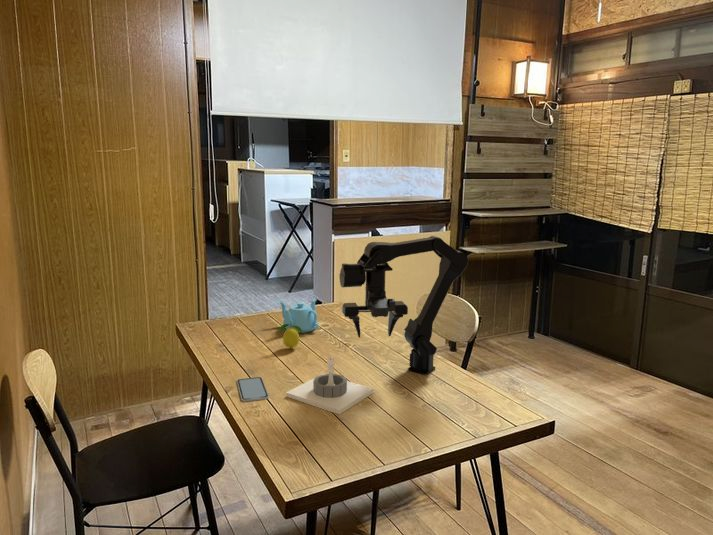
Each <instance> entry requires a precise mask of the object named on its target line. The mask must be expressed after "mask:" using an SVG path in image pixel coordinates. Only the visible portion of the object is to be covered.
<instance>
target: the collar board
mask: <svg viewBox="0 0 713 535" xmlns="http://www.w3.org/2000/svg"><path fill="white" fill-rule="evenodd" d="M328 379H329V373H325V374H324V373H322V374H320V375H318V376H316V377H314V378H312V379H310V380H308V381H306V382H304V383H302V384H299V385H298V386H297V387H294V388H292V389H290V390H288V391H286V393H285V394H286V395H285V396H286V397H287V398H289V399H293V400H295V401H298V402H301V403H305V404H307V405H310V406H314V407H316V408H319V409H323V410H325V411H328V412H331V413H334V414H337V415H341V414H343V413H344V412H345V411H347V410H349V409H350V408H352V407H354V406H355V405H357V404H358V403H360V402H361V401H363V400H365V399H367V398H368V397H369V396H371V395H372V394H374V388H372V387H369V386H365V385H362V384H358V383H355V382H351V381H348V379H347V378H346V377H345V376H344V375H341V374H338V373H337V374H336V373H333V381H334V384H335V385H334V386H326V385H327V384H328Z"/></svg>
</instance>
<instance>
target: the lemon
mask: <svg viewBox="0 0 713 535" xmlns="http://www.w3.org/2000/svg"><path fill="white" fill-rule="evenodd" d="M290 324H291V323H290ZM288 325H289V324H284V325H283V324H282V325H281V326H280V328H278V333H280V332H281V331H283V330H284V329H285V331H284V333H283V336H282V341H283V344H284V346H285V347H286V348H289V350H293V349H294V348H295V347H297V346H298V344H299V343H300V334H303V332H302V329H301V328H300V327H299V326H293V327H294V328H292V327H290V328H288V329H286V327H287V326H288ZM291 326H292V325H291ZM297 330H298V331H299V332H301V333H298V331H297Z"/></svg>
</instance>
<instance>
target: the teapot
mask: <svg viewBox="0 0 713 535" xmlns="http://www.w3.org/2000/svg"><path fill="white" fill-rule="evenodd" d="M317 300H318V298H314V299H313V300H312V301H311V303H310V305H308V304H307V305H306V304H305V303H304V302H297V303H296V305H295V304H294V305H292V306H290V307H289V309H287V306H286V304H285V302H284V301H281V300H278V303H280V306H281V314H282V318H283V324H282V325H284V324H289V325H288V326H287V327H286V328H285V330H287V329H288V328H290V327H292V328H294V327H293V326H299V327H300V328H301V329H302V332H303V333H304V334H305V333H309V332H313V331H314V330H316V329H319V322H318V313H317V311H316V302H317ZM290 323H291V324H290ZM291 325H292V326H291ZM297 331H298V330H297ZM303 333H301V332H299V331H298V334H303Z"/></svg>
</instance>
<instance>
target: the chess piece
mask: <svg viewBox="0 0 713 535" xmlns="http://www.w3.org/2000/svg"><path fill="white" fill-rule="evenodd" d="M327 360H329V361H328V362H326V365H327V366H328V369H327V370H326V373H327V374H329V379H328V384H327V385H326V386H334V385H335V384H334V381H333V374H335V369H334V366H335V364H336V363H335V362H334V361H335V357H333V355H329V357H327Z"/></svg>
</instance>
